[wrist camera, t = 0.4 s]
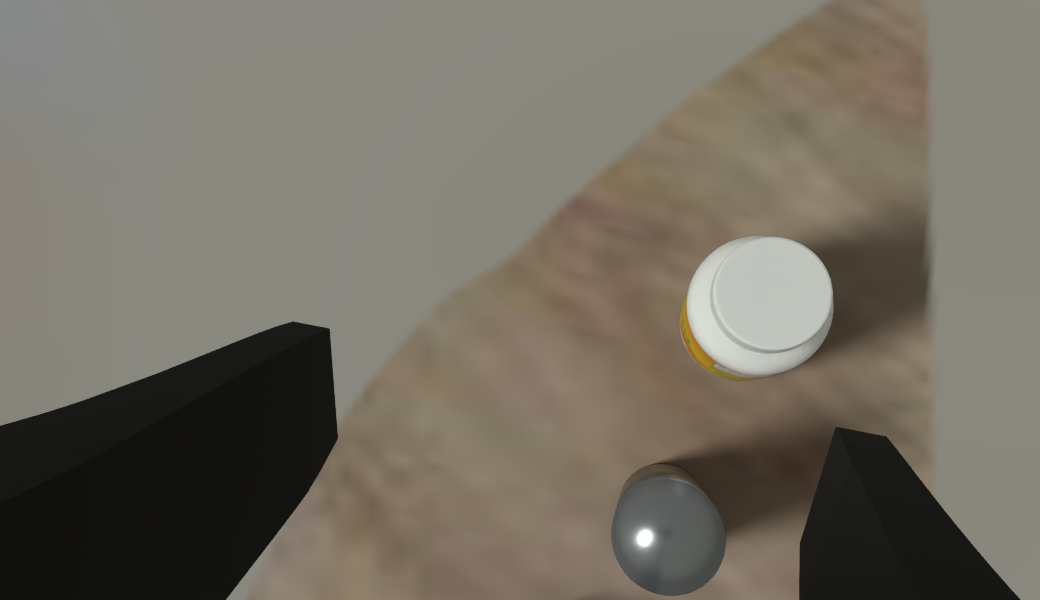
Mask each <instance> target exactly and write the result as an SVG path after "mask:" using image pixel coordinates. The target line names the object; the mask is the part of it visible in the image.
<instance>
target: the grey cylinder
mask: <svg viewBox="0 0 1040 600" xmlns="http://www.w3.org/2000/svg"><path fill="white" fill-rule="evenodd" d="M611 539H612V546H613V550H614V554H615V556H616V559H617V561H618V563H619V565H620V566H621V568H622V569H623V571H624V572H625V573H626V575H627V576H628V577H629V578H630V579H631V580H632V581H634V582H635V583H636V584H637V585H639V586H640V587H642V588H644V589H646V590H648V591H650V592H653V593H656V594H660V595H666V596H676V595H683V594H687V593H690V592H693V591H695V590H697V589H699V588H701V587H702V586H703V585H705V584H706V583H707V582H708V581H709V580H710V579H711V578H712V577H713V576H714V575H715V573H716V572H717V570H718V569H719V567H720V565H721V562H722V560H723V557H724V553H725V546H726V534H725V529H724V525H723V521H722V518H721V516H720V514H719V512H718V510H717V509H716V507H715V505H714V504H713V503H712V501H711V500H710V499H709V497H708V496H707V494H706V493H705V492H704V490H703V489H702V488H701V486H700V485H699V484H698V482H697V481H696V480H695V479H694V478H693V477H692V476H691V475H690V474H689V473H688V472H686V471H685V470H683V469H681V468H679V467H676V466H673V465H670V464H652V465H648V466H646V467H643V468H641V469H639V470H638V471H636V472H635V473H634V474H632V475H631V477H630V478H629V479H628V480H627V481H626V483H625V484H624V486H623V488H622V491H621V494H620V497H619V501H618V504H617V508H616V511H615V515H614V519H613V523H612V530H611Z"/></svg>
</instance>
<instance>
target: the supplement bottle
mask: <svg viewBox="0 0 1040 600" xmlns="http://www.w3.org/2000/svg"><path fill="white" fill-rule="evenodd" d="M833 310H834V302H833V289H832V283H831V279H830V276H829V274H828V271H827V269H826V267H825V266H824V264H823V263H822V261H821V260H820V259H819V258H818V256H817V255H816V254H815V253H813V252H812V251H811V250H810V249H808V248H807V247H805V246H804V245H802V244H800V243H798V242H796V241H793V240H790V239H786V238H781V237H772V236H748V237H744V238H740V239H736V240H733V241H731V242H728V243H726V244H724V245H722V246H721V247H719V248H718V249H716V250H715V251H713V252H712V253H711V254H710V255H709V256H708V257H707V258H706V259H705V260H704V261H703V262H702V264H701V265H700V266H699V268H698V269H697V271H696V273H695V274H694V276H693V279H692V281H691V283H690V286H689V289H688V291H687V294H686V296H685V299H684V301H683V304H682V308H681V313H680V332H681V336H682V340H683V342H684V345H685V347H686V349H687V351H688V352H689V354H690V355H691V357H692V358H693V359H694V360H695V361H696V362H697V363H698V364H699V365H700V366H701V367H702V368H704V369H705V370H707V371H708V372H710V373H712V374H714V375H717V376H719V377H722V378H725V379H729V380H736V381H747V380H755V379H759V378H763V377H767V376H770V375H774V374H778V373H782V372H785V371H788V370H790V369H793V368H795V367H797V366H798V365H800V364H801V363H803V362H804V361H806V360H807V359H808V358H810V357H811V356H812V355H813V354H814V353H815V352H816V351H817V350H818V348H819V347H820V346H821V344H822V343H823V341H824V340H825V338H826V336H827V334H828V331H829V329H830V326H831V323H832V318H833Z"/></svg>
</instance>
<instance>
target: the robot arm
mask: <svg viewBox="0 0 1040 600" xmlns="http://www.w3.org/2000/svg"><path fill="white" fill-rule="evenodd" d="M337 439H338V434H337V420H336V408H335V395H334V381H333V368H332V355H331V341H330V329H328V328H324V327H318V326H313V325H308V324H302V323H298V322H290V323H287V324H283V325H280V326H277V327H274V328H271V329H268V330H266V331H263V332H260V333H258V334H255V335H252V336H250V337H247V338H245V339H242V340H240V341H237V342H235V343H232V344H230V345H227V346H225V347H222V348H220V349H217V350H215V351H212V352H210V353H207V354H205V355H202V356H200V357H197V358H195V359H192V360H190V361H187V362H185V363H182V364H180V365H177V366H175V367H172V368H170V369H168V370H165V371H162V372H160V373H157V374H155V375H152V376H149V377H147V378H144V379H141V380H138V381H136V382H133V383H130V384H128V385H125V386H122V387H119V388H117V389H114V390H111V391H108V392H105V393H103V394H100V395H97V396H95V397H92V398H89V399H86V400H84V401H80V402H77V403H75V404H71V405H69V406H66V407H63V408H59V409H56V410H53V411H50V412H46V413H43V414H40V415H37V416H33V417H29V418H26V419H22V420H19V421H16V422H12V423H9V424H5V425H2V426H0V600H226V599H227V598H228V596H229V595H230V594H231V592H232V591H233V590H234V588H235V587H236V586H237V585H238V583H239V582H240V580H241V579H242V578H243V577H244V575H245V574H246V573H247V572H248V570H249V569H250V568H251V566H252V565H253V564H254V562H255V561H256V560H257V559H258V557H259V556H260V555H261V553H262V552H263V551H264V550H265V548H266V547H267V546H268V544H269V543H270V542H271V541H272V539H273V538H274V537H275V535H276V534H277V533H278V531H279V530H280V529H281V527H282V526H283V525H284V523H285V522H286V521H287V519H288V518H289V517H290V515H291V514H292V513H293V512H294V510H295V509H296V508H297V506H298V505H299V503H300V502H301V501H302V499H303V498H304V497H305V495H306V494H307V492H308V491H309V489H310V487H311V486H312V484H313V482H314V481H315V479H316V477H317V475H318V474H319V472H320V470H321V469H322V467H323V465H324V463H325V461H326V459H327V458H328V456H329V454H330V452H331V450H332V448H333V446H334V445H335V443H336V441H337ZM799 600H1020V599H1019V598H1018V597H1017V595H1016V594H1015V593H1014V592H1013V591H1012V590H1011V589H1010V588H1009V587H1008V585H1007V584H1006V583H1005V582H1004V581H1003V580H1002V579H1001V578H1000V576H999V575H998V574H997V573H996V572H995V571H994V570H993V568H992V567H991V566H990V565H989V564H988V563H987V561H986V560H985V559H984V558H983V557H982V556H981V554H980V553H979V552H978V551H977V550H976V548H975V547H974V546H973V545H972V544H971V542H970V541H969V540H968V539H967V538H966V536H965V535H964V534H963V533H962V532H961V530H960V529H959V528H958V527H957V525H956V524H955V523H954V522H953V521H952V519H951V518H950V517H949V516H948V514H947V513H946V512H945V511H944V509H943V508H942V507H941V506H940V504H939V503H938V502H937V500H936V499H935V498H934V497H933V495H932V494H931V493H930V492H929V490H928V489H927V488H926V486H925V485H924V484H923V483H922V481H921V480H920V479H919V477H918V476H917V475H916V474H915V472H914V471H913V470H912V468H911V467H910V466H909V465H908V463H907V462H906V461H905V459H904V458H903V457H902V455H901V454H900V453H899V452H898V450H897V449H896V448H895V447H894V445H893V444H892V443H891V442H890V440H889V439H888V438H887V437H886V436H880V435H875V434H870V433H865V432H860V431H855V430H849V429H844V428H839V427H836V428H835V431H834V435H833V438H832V441H831V444H830V448H829V451H828V454H827V457H826V461H825V464H824V467H823V470H822V474H821V477H820V480H819V483H818V487H817V490H816V493H815V496H814V500H813V503H812V506H811V509H810V512H809V516H808V519H807V522H806V525H805V529H804V532H803V535H802V538H801V542H800V574H799Z"/></svg>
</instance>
